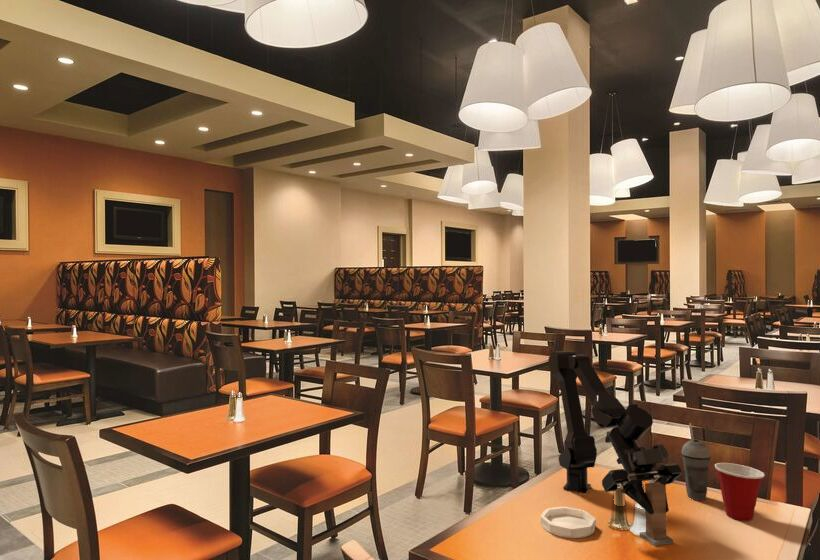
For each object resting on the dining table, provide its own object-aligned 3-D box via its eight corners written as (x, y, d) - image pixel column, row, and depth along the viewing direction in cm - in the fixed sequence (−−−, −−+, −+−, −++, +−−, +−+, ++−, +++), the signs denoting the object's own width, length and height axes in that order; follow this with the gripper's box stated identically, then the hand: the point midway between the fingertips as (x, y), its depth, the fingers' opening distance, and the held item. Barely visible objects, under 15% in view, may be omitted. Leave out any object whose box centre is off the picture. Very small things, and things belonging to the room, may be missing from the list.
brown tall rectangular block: (639, 536, 127) (638, 482, 127) (658, 533, 129) (657, 479, 129) (654, 546, 123) (653, 489, 123) (673, 542, 124) (672, 487, 124)
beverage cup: (709, 505, 144) (707, 428, 144) (679, 499, 149) (677, 424, 149) (714, 496, 150) (712, 423, 150) (684, 490, 154) (683, 419, 154)
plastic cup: (776, 523, 133) (775, 474, 133) (735, 527, 131) (734, 476, 131) (743, 505, 143) (742, 459, 143) (705, 508, 142) (704, 462, 142)
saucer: (549, 511, 141) (549, 503, 142) (599, 521, 135) (599, 512, 135) (535, 531, 131) (534, 521, 131) (588, 542, 125) (588, 532, 125)
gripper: (608, 436, 127) (640, 502, 116) (676, 429, 132) (713, 492, 121) (589, 459, 135) (618, 523, 124) (654, 452, 139) (687, 513, 129)
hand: (659, 512), depth 124 cm, fingers closed on brown tall rectangular block, 3 cm apart
